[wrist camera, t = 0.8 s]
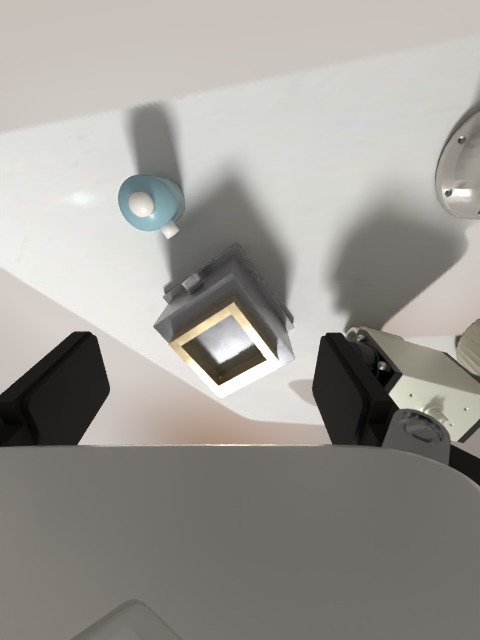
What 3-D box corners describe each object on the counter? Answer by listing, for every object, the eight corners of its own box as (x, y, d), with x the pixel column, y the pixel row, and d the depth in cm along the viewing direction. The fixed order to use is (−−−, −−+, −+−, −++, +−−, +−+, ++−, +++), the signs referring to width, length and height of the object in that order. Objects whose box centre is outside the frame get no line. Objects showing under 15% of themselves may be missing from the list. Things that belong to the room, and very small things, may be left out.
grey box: (234, 238, 37) (229, 260, 26) (293, 324, 43) (309, 371, 32) (162, 291, 41) (130, 329, 30) (225, 362, 47) (218, 417, 35)
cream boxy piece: (309, 348, 45) (344, 435, 29) (330, 304, 41) (384, 377, 25) (402, 372, 47) (482, 467, 31) (430, 333, 43) (538, 418, 27)
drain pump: (165, 167, 33) (140, 161, 25) (199, 216, 35) (186, 223, 28) (134, 195, 34) (101, 197, 27) (169, 240, 37) (149, 253, 29)
